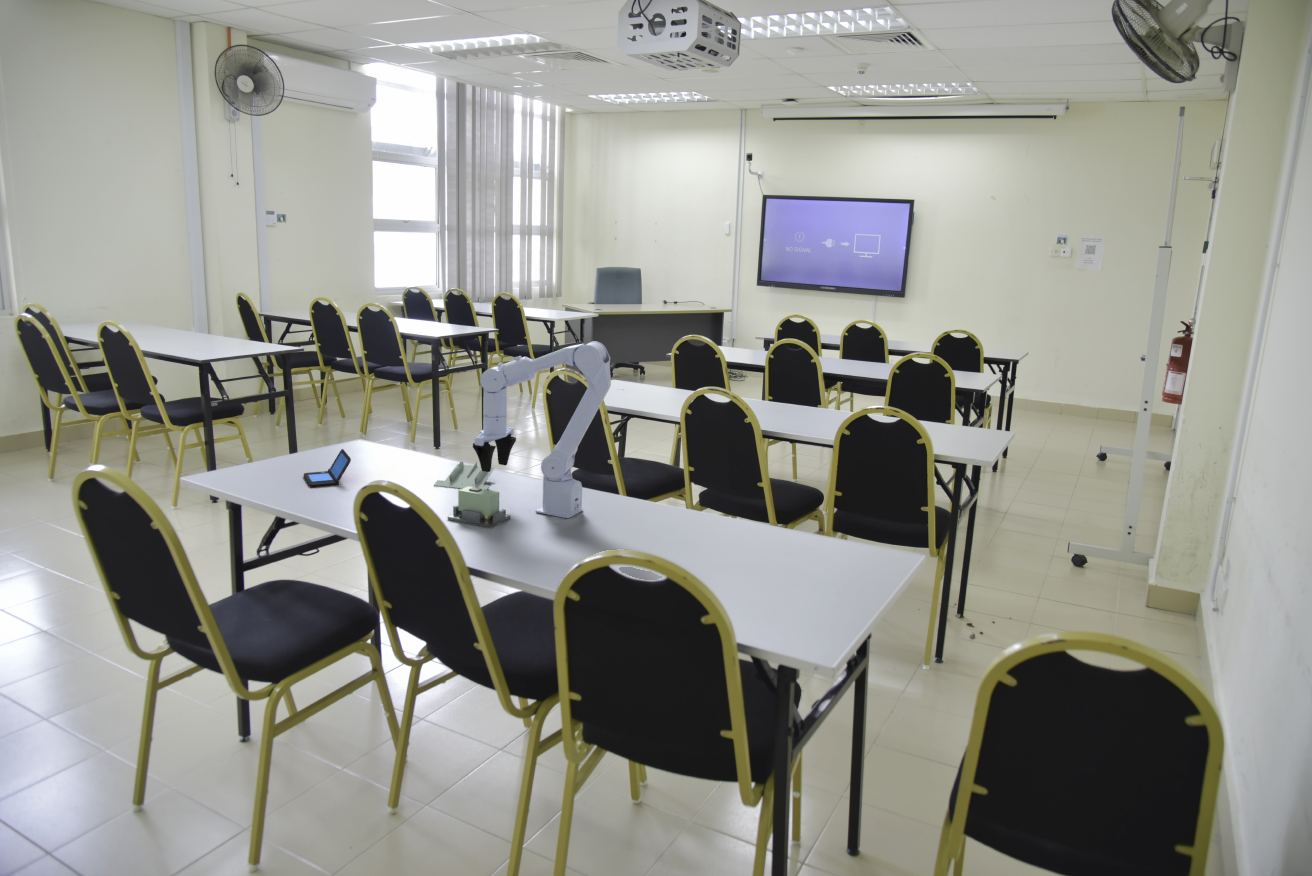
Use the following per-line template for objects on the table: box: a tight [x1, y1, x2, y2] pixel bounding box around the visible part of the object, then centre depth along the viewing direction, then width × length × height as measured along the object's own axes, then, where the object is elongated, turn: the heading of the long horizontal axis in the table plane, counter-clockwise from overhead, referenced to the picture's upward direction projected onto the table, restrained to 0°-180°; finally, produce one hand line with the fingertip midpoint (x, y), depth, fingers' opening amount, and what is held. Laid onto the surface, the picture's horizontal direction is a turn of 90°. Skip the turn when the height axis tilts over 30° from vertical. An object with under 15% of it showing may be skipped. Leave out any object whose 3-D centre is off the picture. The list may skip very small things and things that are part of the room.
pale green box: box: [457, 486, 500, 516], centre depth 207 cm, size 9×4×5 cm, turn 67°
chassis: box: [447, 503, 512, 529], centre depth 207 cm, size 12×9×3 cm
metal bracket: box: [433, 461, 495, 490], centre depth 237 cm, size 14×6×15 cm
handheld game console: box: [303, 448, 352, 488], centre depth 233 cm, size 12×11×7 cm
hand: (494, 467), depth 217 cm, fingers open, 7 cm apart
